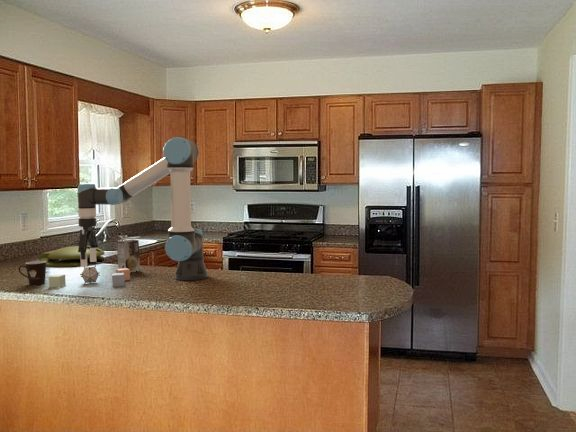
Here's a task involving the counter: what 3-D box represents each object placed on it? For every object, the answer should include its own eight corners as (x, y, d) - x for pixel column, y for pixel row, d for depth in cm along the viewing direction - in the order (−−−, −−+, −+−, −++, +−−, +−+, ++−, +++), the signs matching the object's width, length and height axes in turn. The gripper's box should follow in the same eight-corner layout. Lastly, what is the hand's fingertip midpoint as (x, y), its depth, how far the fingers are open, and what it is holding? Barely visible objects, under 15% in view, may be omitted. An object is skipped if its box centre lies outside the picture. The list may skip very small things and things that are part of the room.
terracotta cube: (126, 278, 256) (126, 267, 256) (130, 279, 252) (129, 269, 252) (116, 279, 253) (115, 269, 253) (119, 281, 249) (118, 270, 249)
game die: (92, 292, 244) (91, 276, 237) (76, 285, 245) (74, 269, 239) (104, 279, 251) (103, 264, 244) (88, 272, 252) (87, 257, 246)
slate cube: (124, 283, 243) (123, 272, 243) (124, 285, 238) (123, 274, 238) (112, 284, 241) (112, 273, 241) (112, 286, 237) (112, 275, 236)
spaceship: (28, 267, 297) (28, 250, 296) (61, 259, 327) (60, 243, 327) (87, 268, 291) (86, 250, 291) (114, 259, 322) (114, 243, 321)
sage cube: (65, 285, 241) (65, 274, 241) (59, 287, 236) (59, 276, 236) (55, 285, 242) (54, 274, 242) (49, 287, 237) (48, 276, 237)
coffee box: (132, 270, 279) (131, 239, 278) (140, 271, 275) (139, 239, 274) (117, 272, 272) (116, 241, 271) (125, 273, 268) (124, 241, 267)
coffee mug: (51, 282, 248) (50, 261, 247) (35, 286, 240) (34, 264, 239) (33, 281, 253) (32, 260, 252) (17, 284, 245) (16, 263, 244)
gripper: (87, 215, 255) (88, 259, 257) (69, 219, 230) (71, 268, 232) (103, 215, 256) (104, 259, 257) (87, 219, 231) (88, 268, 232)
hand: (88, 264), depth 244 cm, fingers open, 13 cm apart
